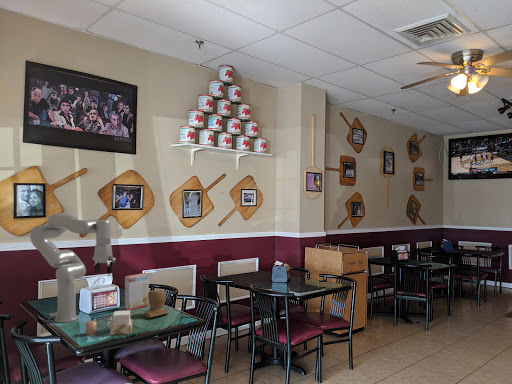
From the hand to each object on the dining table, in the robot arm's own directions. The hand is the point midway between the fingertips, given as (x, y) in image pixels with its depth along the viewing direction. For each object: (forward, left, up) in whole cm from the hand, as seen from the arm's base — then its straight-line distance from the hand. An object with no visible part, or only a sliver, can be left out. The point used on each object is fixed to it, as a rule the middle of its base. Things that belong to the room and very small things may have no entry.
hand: (103, 272), depth 228 cm
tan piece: (+28, +12, -29) cm, 42 cm away
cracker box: (+16, +32, -29) cm, 46 cm away
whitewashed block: (+11, -15, -24) cm, 30 cm away
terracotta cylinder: (-4, -15, -29) cm, 33 cm away
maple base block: (+11, -14, -29) cm, 34 cm away
